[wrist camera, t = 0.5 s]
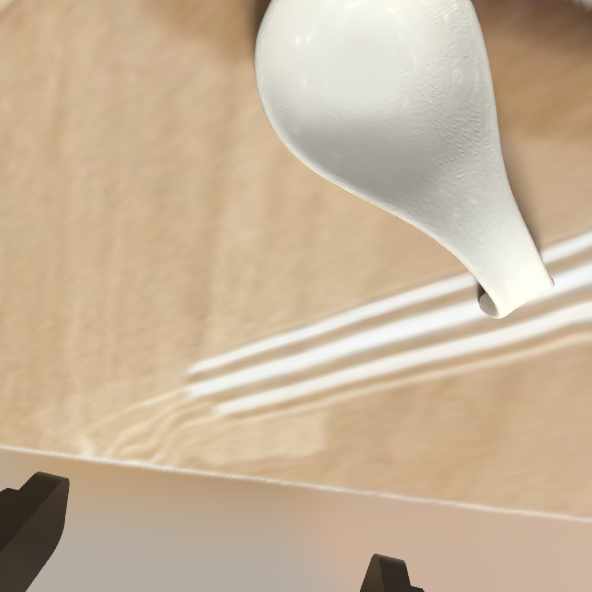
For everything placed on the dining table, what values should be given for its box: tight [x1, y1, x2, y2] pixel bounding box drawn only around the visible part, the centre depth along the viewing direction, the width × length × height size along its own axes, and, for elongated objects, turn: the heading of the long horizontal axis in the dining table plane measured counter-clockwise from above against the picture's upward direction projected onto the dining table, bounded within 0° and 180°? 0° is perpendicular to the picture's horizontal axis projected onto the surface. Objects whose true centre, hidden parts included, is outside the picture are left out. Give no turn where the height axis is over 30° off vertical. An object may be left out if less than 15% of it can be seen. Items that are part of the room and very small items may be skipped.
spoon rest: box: [254, 0, 554, 318], centre depth 25 cm, size 24×12×7 cm, turn 40°
